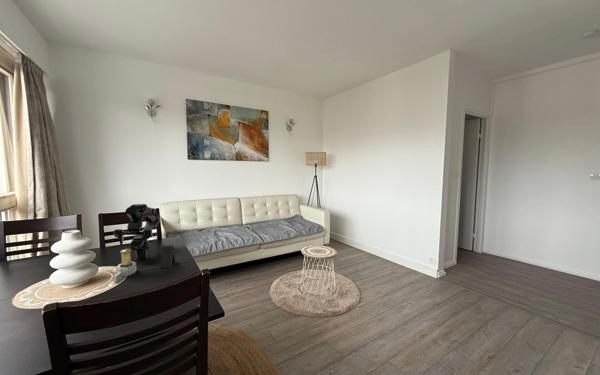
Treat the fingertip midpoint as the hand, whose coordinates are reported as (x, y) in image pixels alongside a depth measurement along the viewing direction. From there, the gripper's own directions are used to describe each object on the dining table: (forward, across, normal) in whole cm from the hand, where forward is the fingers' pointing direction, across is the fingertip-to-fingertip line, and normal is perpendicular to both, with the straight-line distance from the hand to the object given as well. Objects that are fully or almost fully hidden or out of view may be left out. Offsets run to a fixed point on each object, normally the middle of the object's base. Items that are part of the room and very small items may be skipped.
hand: (130, 247), depth 141 cm
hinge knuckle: (+13, 0, +5) cm, 14 cm away
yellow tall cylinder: (+13, 0, +5) cm, 14 cm away
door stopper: (+9, +20, +7) cm, 23 cm away
